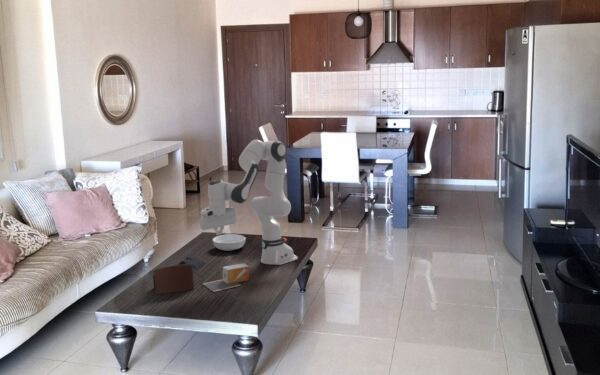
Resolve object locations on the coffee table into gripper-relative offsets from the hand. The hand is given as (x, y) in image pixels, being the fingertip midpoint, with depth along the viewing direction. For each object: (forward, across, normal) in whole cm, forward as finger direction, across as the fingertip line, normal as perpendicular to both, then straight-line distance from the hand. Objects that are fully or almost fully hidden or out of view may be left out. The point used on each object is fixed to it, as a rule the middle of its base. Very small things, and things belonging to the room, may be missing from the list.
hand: (219, 234), depth 317 cm
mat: (+26, +4, +8) cm, 27 cm away
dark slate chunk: (+26, +8, -30) cm, 40 cm away
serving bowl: (+27, -29, -48) cm, 62 cm away
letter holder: (+26, +27, -3) cm, 37 cm away
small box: (+21, +2, +7) cm, 22 cm away
